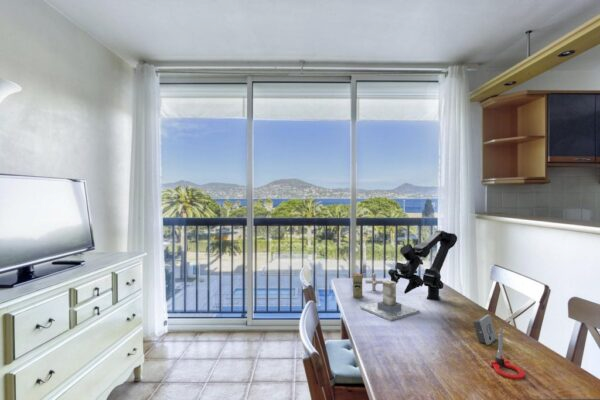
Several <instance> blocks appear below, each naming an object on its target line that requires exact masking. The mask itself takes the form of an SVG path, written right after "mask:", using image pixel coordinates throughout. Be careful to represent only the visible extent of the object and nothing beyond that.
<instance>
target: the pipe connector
mask: <svg viewBox="0 0 600 400" xmlns="http://www.w3.org/2000/svg"><path fill="white" fill-rule="evenodd" d="M371 277H372V278H371V280H365V281H364V283H365V284H371V287H372V290H373V291H372V290H371V291H372V292H376V286H377V284H379V285H381V284H382V285H383V281H384V280H376V273H375V272H374V273H373V272H372V275H371Z"/></svg>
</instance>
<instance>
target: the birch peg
mask: <svg viewBox="0 0 600 400" xmlns="http://www.w3.org/2000/svg"><path fill="white" fill-rule="evenodd" d="M382 281H383V284H382V301H383V304H386V305H388V306H392V305H396V302H397V284H396V282H393V281H391V279H389V280H385V281H384V280H382Z"/></svg>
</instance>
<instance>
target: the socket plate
mask: <svg viewBox="0 0 600 400" xmlns="http://www.w3.org/2000/svg"><path fill="white" fill-rule="evenodd" d="M359 308H360V309H361V310H362V311H363V310H364V311H366V312H368V313H370V314H373V315H375V316H378V317H380V318H383V319H385V320H388V321H389V322H391V321H392V322H393V321H396V320H398V319H402V318H406V317H408V316H411V315H415V314H418V313H420V312H421V311H420V309H417V308H414V307H412V306H409V305H405V304H402V303H401V302H397V301H396V305H392V306H388V305H386V304H383V300H381V301H377V302H372V303H368V304H365V305H361V306H360V307H359Z"/></svg>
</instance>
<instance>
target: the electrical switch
mask: <svg viewBox="0 0 600 400" xmlns="http://www.w3.org/2000/svg"><path fill="white" fill-rule="evenodd" d="M472 322H473V325H474V330H475V333H476V337H477V340H478V342H479V343H485V345H486V346H488V345H491V344H492V343H494V341H496V340H497V333H496V329H495V327H494V324H493V320H492V317H491V315H490V314H486V315H484V316H479V317H478V318H476V319H475V320H474V321H472Z"/></svg>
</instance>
